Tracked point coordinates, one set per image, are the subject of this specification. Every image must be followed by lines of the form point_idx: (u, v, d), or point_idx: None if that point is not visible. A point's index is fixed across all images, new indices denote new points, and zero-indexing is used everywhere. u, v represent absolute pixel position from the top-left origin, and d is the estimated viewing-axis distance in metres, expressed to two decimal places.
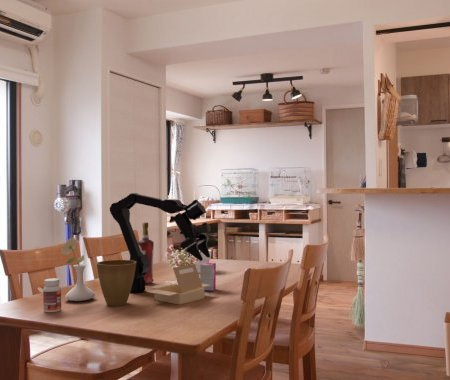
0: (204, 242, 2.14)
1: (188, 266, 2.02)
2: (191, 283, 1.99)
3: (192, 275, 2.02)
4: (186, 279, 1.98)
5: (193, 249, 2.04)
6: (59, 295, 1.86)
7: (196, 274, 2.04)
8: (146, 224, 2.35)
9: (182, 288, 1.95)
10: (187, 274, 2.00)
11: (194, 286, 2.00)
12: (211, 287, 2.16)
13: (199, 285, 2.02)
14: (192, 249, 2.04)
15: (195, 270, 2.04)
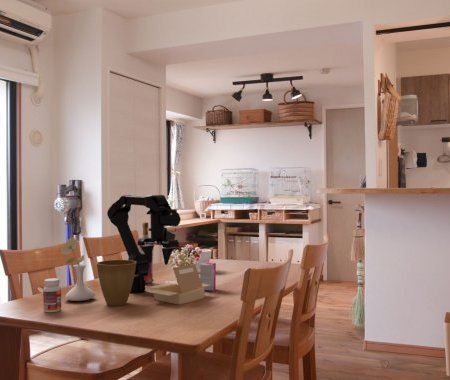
0: (152, 247, 2.14)
1: (188, 266, 2.02)
2: (191, 283, 1.99)
3: (192, 275, 2.02)
4: (186, 279, 1.98)
5: (167, 251, 2.06)
6: (59, 295, 1.86)
7: (196, 274, 2.04)
8: (146, 224, 2.35)
9: (182, 288, 1.95)
10: (187, 274, 2.00)
11: (194, 286, 2.00)
12: (211, 287, 2.16)
13: (199, 285, 2.02)
14: (167, 251, 2.06)
15: (195, 270, 2.04)
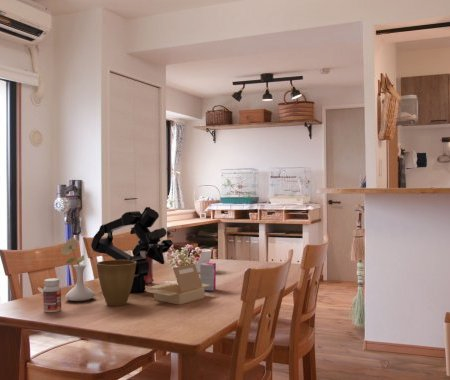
0: (158, 249, 2.11)
1: (188, 266, 2.02)
2: (191, 283, 1.99)
3: (192, 275, 2.02)
4: (186, 279, 1.98)
5: (154, 254, 2.09)
6: (59, 295, 1.86)
7: (196, 274, 2.04)
8: None
9: (182, 288, 1.95)
10: (187, 274, 2.00)
11: (194, 286, 2.00)
12: (211, 287, 2.16)
13: (199, 285, 2.02)
14: (153, 254, 2.10)
15: (195, 270, 2.04)
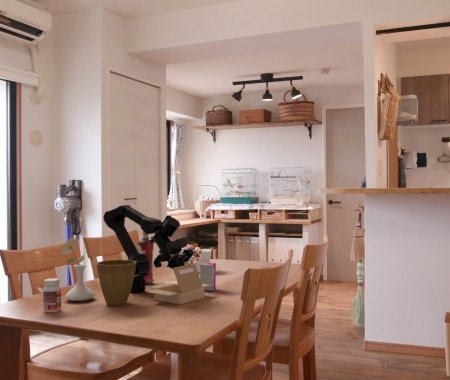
0: (180, 259, 2.03)
1: (188, 266, 2.02)
2: (191, 283, 1.99)
3: (192, 275, 2.02)
4: (186, 279, 1.98)
5: (175, 264, 2.02)
6: (59, 295, 1.86)
7: (196, 274, 2.04)
8: None
9: (182, 288, 1.95)
10: (187, 274, 2.00)
11: (194, 286, 2.00)
12: (211, 287, 2.16)
13: (199, 285, 2.02)
14: (174, 264, 2.02)
15: (195, 270, 2.04)
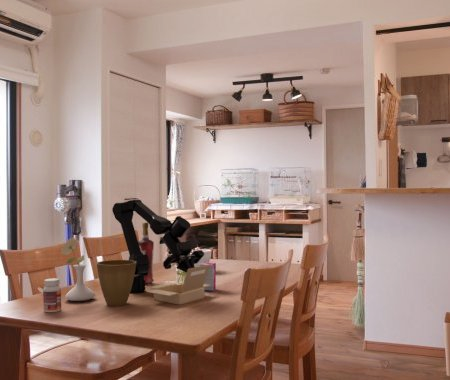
0: (190, 261, 2.00)
1: (202, 268, 1.98)
2: (195, 284, 1.98)
3: (200, 276, 1.99)
4: (193, 280, 1.96)
5: (185, 266, 1.99)
6: (59, 295, 1.86)
7: (204, 275, 2.01)
8: (146, 224, 2.35)
9: (184, 289, 1.94)
10: (196, 276, 1.97)
11: (195, 287, 1.99)
12: (211, 287, 2.16)
13: (200, 285, 2.02)
14: (184, 266, 1.99)
15: (205, 272, 2.01)
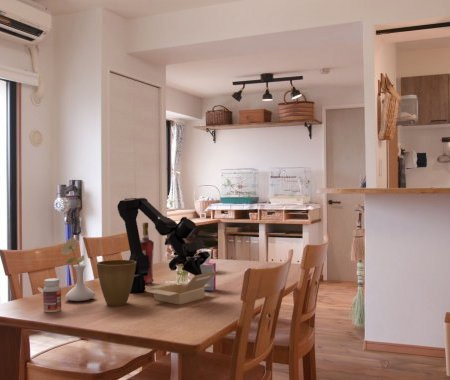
0: (195, 262, 1.98)
1: (208, 274, 1.96)
2: (196, 286, 1.98)
3: (204, 280, 1.98)
4: (195, 284, 1.95)
5: (191, 267, 1.97)
6: (59, 295, 1.86)
7: (208, 279, 2.00)
8: (146, 224, 2.35)
9: (185, 290, 1.94)
10: (200, 280, 1.96)
11: (196, 288, 1.99)
12: (211, 287, 2.16)
13: (201, 286, 2.02)
14: (190, 267, 1.97)
15: (210, 277, 1.99)
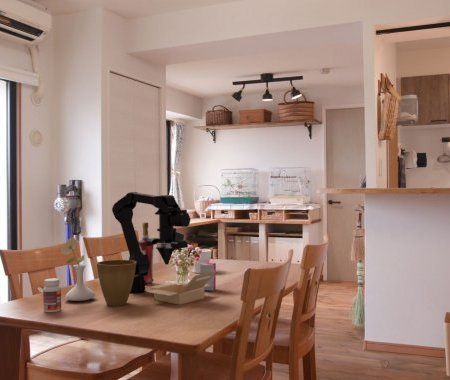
0: None
1: (208, 274, 1.96)
2: (196, 286, 1.98)
3: (204, 280, 1.98)
4: (195, 284, 1.95)
5: (168, 251, 2.07)
6: (59, 295, 1.86)
7: (208, 279, 2.00)
8: (146, 224, 2.35)
9: (185, 290, 1.94)
10: (200, 280, 1.96)
11: (196, 288, 1.99)
12: (211, 287, 2.16)
13: (201, 286, 2.02)
14: (168, 251, 2.07)
15: (210, 277, 1.99)
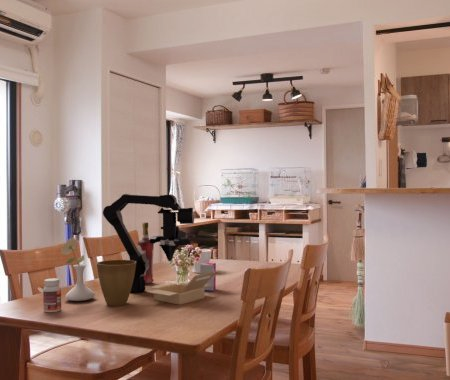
0: None
1: (208, 274, 1.96)
2: (196, 286, 1.98)
3: (204, 280, 1.98)
4: (195, 284, 1.95)
5: (171, 248, 2.16)
6: (59, 295, 1.86)
7: (208, 279, 2.00)
8: (146, 224, 2.35)
9: (185, 290, 1.94)
10: (200, 280, 1.96)
11: (196, 288, 1.99)
12: (211, 287, 2.16)
13: (201, 286, 2.02)
14: (171, 248, 2.16)
15: (210, 277, 1.99)
